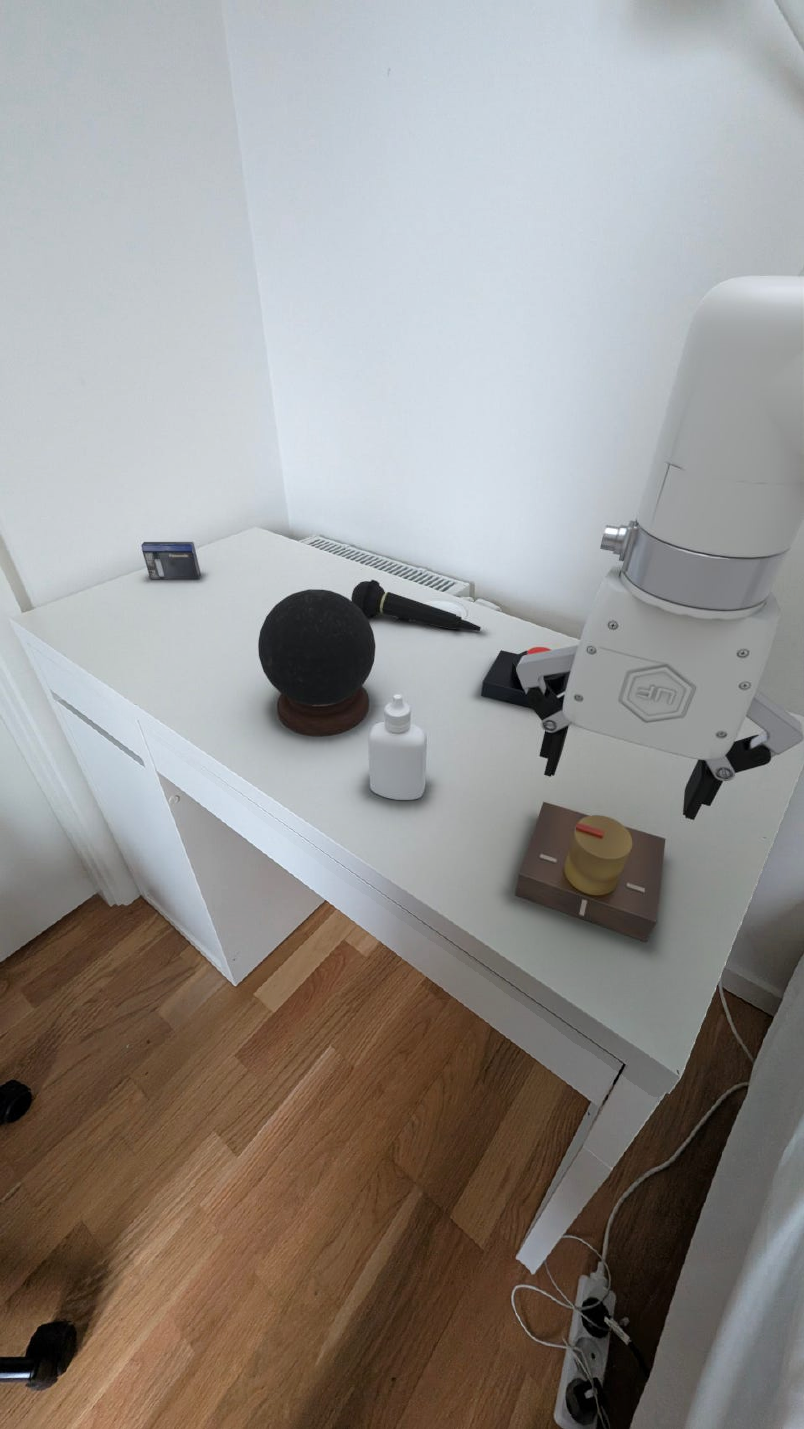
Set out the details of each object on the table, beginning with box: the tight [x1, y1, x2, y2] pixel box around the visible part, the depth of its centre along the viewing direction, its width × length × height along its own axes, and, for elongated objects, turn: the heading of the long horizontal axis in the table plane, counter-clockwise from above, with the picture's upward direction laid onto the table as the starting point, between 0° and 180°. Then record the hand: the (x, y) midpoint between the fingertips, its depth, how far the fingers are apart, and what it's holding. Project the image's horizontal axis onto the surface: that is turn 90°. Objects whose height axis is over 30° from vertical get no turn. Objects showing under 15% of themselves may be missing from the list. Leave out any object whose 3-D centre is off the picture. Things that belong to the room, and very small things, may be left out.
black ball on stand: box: [257, 589, 376, 737], centre depth 66 cm, size 13×13×15 cm
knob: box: [564, 814, 632, 895], centre depth 47 cm, size 4×4×5 cm
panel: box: [514, 801, 667, 943], centre depth 50 cm, size 11×11×3 cm
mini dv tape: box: [140, 541, 202, 580], centre depth 97 cm, size 8×2×6 cm, turn 90°
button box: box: [480, 649, 570, 709], centre depth 73 cm, size 12×8×4 cm, turn 66°
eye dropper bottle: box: [367, 694, 428, 801], centre depth 56 cm, size 4×6×12 cm
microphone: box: [350, 579, 482, 632], centre depth 86 cm, size 6×6×20 cm
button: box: [527, 646, 552, 655], centre depth 71 cm, size 4×4×2 cm
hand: (618, 783), depth 42 cm, fingers open, 9 cm apart
